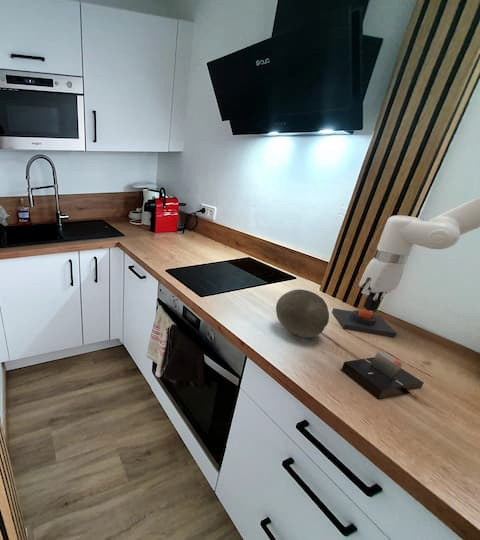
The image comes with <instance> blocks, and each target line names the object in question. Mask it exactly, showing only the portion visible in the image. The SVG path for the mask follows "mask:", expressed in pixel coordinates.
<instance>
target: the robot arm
mask: <svg viewBox="0 0 480 540" xmlns="http://www.w3.org/2000/svg"><path fill="white" fill-rule="evenodd" d="M479 228H480V196H478V197H476V198H473V199H471V200H468V201H466V202H465V203H462V204H460V205H458V206H455V207H453V208H451V209H448V210H447V211H445V212H443V213H441V214H438V215H436V216H435V217H432V218H431V219H429V220H427V221H425V220H422V219H421V218H419V217H415V216H409V215H391V216H390V217H388V218H387V220H386V223H385V225H384V228H383V231H382V234H381V236H380V239H379V242H378V244H377V247H376V249H375V252H374V255H373V257H372V259H371V260H370V261H369V262H368V264H367V265H366V268H365V269H364V271H363V273H362V276H361V278H360V280H359V283H358V287H359V288H362V290H361V294H362V295H365V297H366V299H365V301H364V303H363V305H362V307H363V309H366V310H369V311H371V312H377V311H378V309H379V307H380V304H381V302H382V301H383V300H384V299H385V296H386V295H387V294H389V293H392V292H393V291H395V290H397V288H398V286H399V284H400V283H401V282H400V281H401V279H402V277H403V273H404V270H405V266H406V264H407V262H408V260H409V256H410V254H411V253H412V249H413V248H414V245H415V246H419V247H423V248H427V249H431V250H445V249H449V248H451V247H453V246H455V245H456V244H457V243H458V241H459V240H460V238H461V236H462V235H465V234H467V233H468V232H471V231H474V230H477V229H479Z"/></svg>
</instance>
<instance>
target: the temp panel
mask: <svg viewBox="0 0 480 540" xmlns="http://www.w3.org/2000/svg"><path fill="white" fill-rule="evenodd" d="M374 358H375V356H374V357H367V358H360V359H354V360H347V361H344V362H343V364H342V367H341V369H340V371H341V372H342V373H344V374H345V375H346V376H348V378H350V379H351V380H352V381H354V382H355V383H356V384H357V385H359V386H360V387H362V388H363V389H364V390H366V391H367V392H368V393H369V394H370V395H372V396H373V397H374V398H375V399H377V400H381V399H386V398H387V399H388V398H392V397H399V396H402V395H404V396H405V395H409V394H412V392H411V391H410V390H416V389H421V388H422V387H423V385H424V384H425V382H424V381H422V380H421V379H419V378H417V377H416V376H414V375H413V374H412V373H410V372H408V371H407V370H405V369H403V368H402V367H401V368H400V370H399V372H398V374H397V376H396V378H393V379H390V378H389V377H387V376H386V375H384V374H383V373H381V372H380V371H378V370H377V369H376V368H374V367H373V366H371V364H372V362H373V360H374Z"/></svg>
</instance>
